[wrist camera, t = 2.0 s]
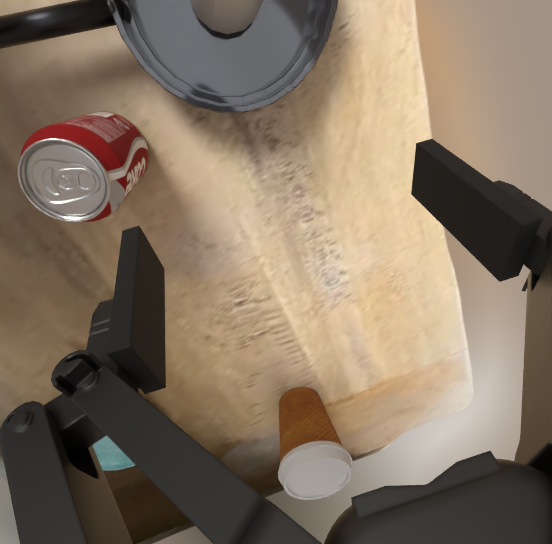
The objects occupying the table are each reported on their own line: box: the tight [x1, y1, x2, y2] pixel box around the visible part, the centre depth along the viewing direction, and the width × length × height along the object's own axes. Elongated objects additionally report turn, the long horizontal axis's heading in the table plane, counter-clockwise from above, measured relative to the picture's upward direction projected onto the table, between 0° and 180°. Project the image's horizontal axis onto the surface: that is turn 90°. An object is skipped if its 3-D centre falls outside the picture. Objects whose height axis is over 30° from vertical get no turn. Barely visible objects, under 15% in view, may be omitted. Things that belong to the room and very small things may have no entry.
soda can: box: [17, 112, 149, 222], centre depth 28 cm, size 7×7×12 cm
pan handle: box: [0, 0, 126, 49], centre depth 26 cm, size 13×2×2 cm, turn 101°
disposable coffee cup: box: [278, 387, 352, 500], centre depth 49 cm, size 10×10×12 cm
